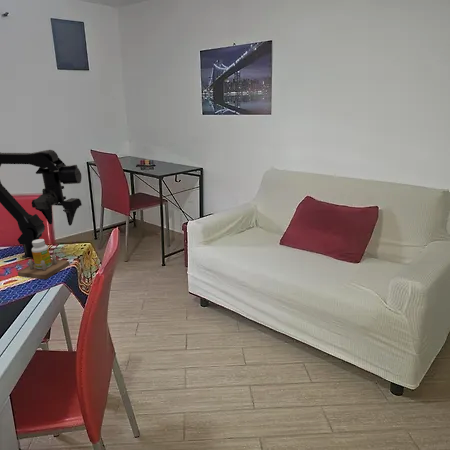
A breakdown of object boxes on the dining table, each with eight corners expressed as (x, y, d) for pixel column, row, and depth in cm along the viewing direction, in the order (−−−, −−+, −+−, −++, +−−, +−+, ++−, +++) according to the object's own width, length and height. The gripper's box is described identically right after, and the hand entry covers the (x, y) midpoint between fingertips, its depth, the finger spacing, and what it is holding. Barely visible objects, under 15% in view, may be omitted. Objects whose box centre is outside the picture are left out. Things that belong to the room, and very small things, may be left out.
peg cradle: (18, 276, 140) (15, 262, 139) (43, 262, 151) (40, 249, 149) (46, 279, 136) (43, 265, 135) (69, 264, 147) (67, 252, 145)
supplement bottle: (45, 269, 140) (39, 243, 137) (32, 269, 141) (26, 243, 138) (55, 263, 145) (49, 238, 142) (42, 262, 146) (36, 237, 143)
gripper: (16, 189, 145) (25, 230, 150) (58, 190, 139) (66, 233, 144) (38, 182, 155) (46, 220, 160) (78, 183, 149) (85, 223, 154)
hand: (60, 224), depth 154 cm, fingers open, 9 cm apart
